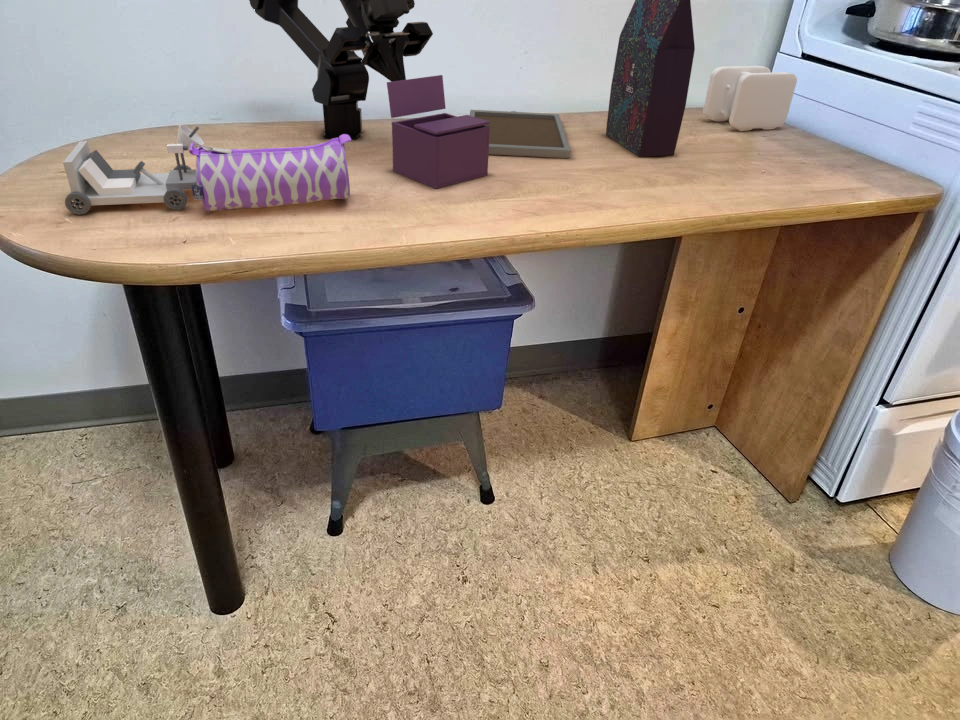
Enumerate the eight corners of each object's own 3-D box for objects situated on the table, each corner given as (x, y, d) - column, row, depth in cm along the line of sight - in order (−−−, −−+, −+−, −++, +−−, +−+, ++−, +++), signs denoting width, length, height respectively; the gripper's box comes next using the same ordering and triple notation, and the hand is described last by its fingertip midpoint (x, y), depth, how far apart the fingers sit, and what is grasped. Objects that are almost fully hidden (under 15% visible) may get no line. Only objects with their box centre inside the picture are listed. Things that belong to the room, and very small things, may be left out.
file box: (392, 171, 115) (391, 117, 110) (444, 159, 122) (445, 107, 117) (435, 188, 109) (436, 132, 104) (487, 175, 115) (490, 121, 111)
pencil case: (197, 222, 93) (184, 152, 88) (195, 199, 100) (183, 133, 95) (358, 208, 100) (355, 142, 95) (346, 187, 107) (342, 125, 102)
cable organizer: (727, 132, 147) (741, 74, 140) (699, 120, 155) (710, 65, 149) (784, 129, 151) (800, 73, 145) (753, 117, 159) (767, 64, 153)
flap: (392, 117, 110) (391, 117, 110) (445, 108, 117) (444, 108, 117) (388, 82, 108) (386, 82, 108) (442, 74, 115) (441, 75, 115)
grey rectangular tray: (465, 144, 124) (470, 106, 150) (465, 153, 125) (470, 114, 150) (570, 150, 124) (558, 110, 150) (569, 158, 125) (557, 118, 151)
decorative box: (638, 133, 143) (664, -20, 128) (678, 156, 130) (711, -11, 115) (602, 134, 141) (624, -21, 126) (638, 158, 128) (668, -12, 112)
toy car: (202, 117, 101) (196, 139, 92) (213, 182, 107) (208, 209, 97) (67, 119, 97) (46, 142, 88) (86, 187, 102) (68, 215, 93)
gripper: (330, -32, 103) (377, 60, 102) (425, -32, 114) (469, 50, 113) (306, 20, 112) (350, 104, 111) (397, 14, 123) (437, 91, 122)
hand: (403, 86), depth 114 cm, fingers closed
